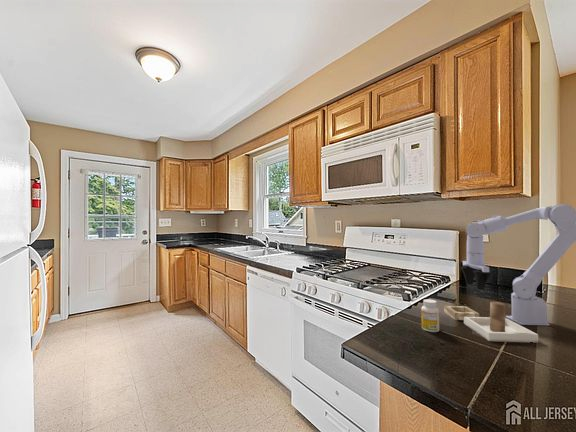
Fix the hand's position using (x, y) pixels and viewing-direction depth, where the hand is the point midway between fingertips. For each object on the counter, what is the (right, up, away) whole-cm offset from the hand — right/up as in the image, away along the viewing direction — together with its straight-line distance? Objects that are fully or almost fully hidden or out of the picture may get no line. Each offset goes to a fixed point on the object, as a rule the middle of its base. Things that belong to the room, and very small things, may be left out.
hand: (474, 286), depth 109 cm
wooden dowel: (-6, -10, -19) cm, 22 cm away
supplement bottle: (-26, -11, -16) cm, 32 cm away
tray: (-5, -10, -19) cm, 22 cm away
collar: (-8, -10, -4) cm, 14 cm away
